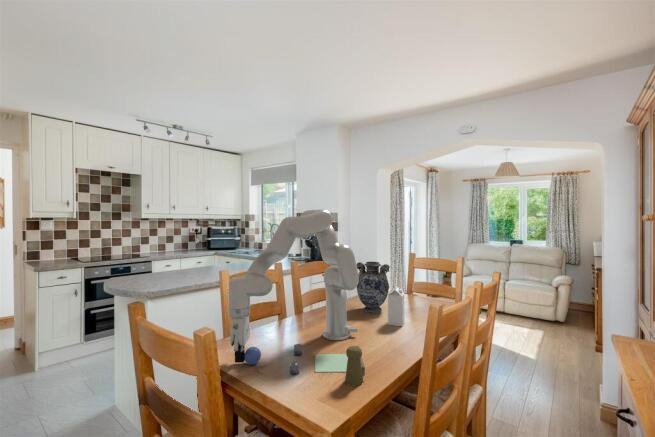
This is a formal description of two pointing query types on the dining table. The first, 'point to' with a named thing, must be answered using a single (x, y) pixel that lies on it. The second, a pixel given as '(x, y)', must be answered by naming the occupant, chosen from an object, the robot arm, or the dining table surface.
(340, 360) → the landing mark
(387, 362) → the dining table surface
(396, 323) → the milk carton
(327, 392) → the dining table surface
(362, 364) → the stopper strip
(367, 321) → the dining table surface
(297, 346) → the post
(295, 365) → the post
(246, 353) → the ball
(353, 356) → the olive knobbed tapered cylinder
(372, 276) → the decorative vase
